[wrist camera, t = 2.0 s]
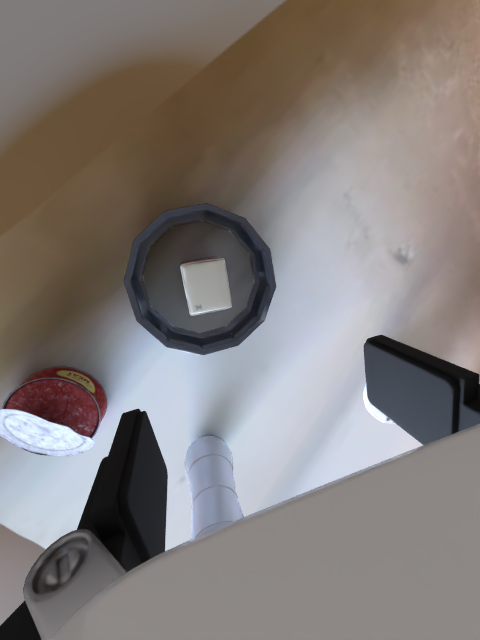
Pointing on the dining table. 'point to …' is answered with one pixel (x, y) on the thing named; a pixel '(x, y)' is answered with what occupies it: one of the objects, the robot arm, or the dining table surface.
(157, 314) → the ring
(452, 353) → the dining table surface
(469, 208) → the dining table surface
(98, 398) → the canned food
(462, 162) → the dining table surface
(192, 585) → the robot arm
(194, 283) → the small box
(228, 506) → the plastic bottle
